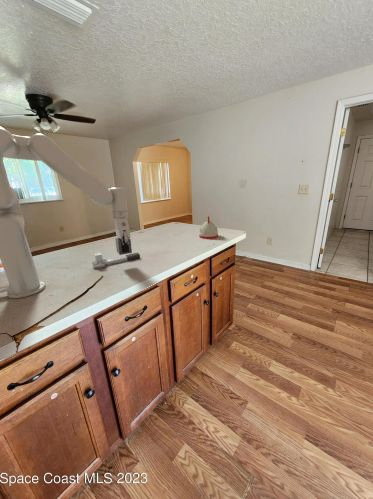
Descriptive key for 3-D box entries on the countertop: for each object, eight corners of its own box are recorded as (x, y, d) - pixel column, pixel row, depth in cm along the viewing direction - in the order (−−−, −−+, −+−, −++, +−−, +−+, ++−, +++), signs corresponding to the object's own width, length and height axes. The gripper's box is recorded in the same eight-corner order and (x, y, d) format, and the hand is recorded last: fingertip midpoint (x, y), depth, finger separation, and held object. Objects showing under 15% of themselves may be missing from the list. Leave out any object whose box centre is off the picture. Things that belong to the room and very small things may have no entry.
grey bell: (217, 234, 160) (218, 215, 155) (218, 239, 147) (218, 218, 142) (200, 234, 162) (199, 215, 157) (198, 239, 149) (198, 218, 144)
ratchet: (94, 269, 103) (91, 257, 101) (92, 265, 108) (89, 253, 106) (141, 259, 114) (139, 248, 112) (137, 255, 120) (136, 245, 118)
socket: (119, 255, 100) (118, 241, 97) (116, 251, 105) (115, 238, 102) (131, 252, 103) (130, 239, 100) (128, 249, 107) (127, 236, 105)
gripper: (133, 216, 92) (136, 253, 98) (123, 211, 107) (126, 245, 112) (116, 217, 89) (120, 256, 94) (108, 213, 103) (112, 247, 109)
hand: (124, 250), depth 103 cm, fingers closed on socket, 6 cm apart
